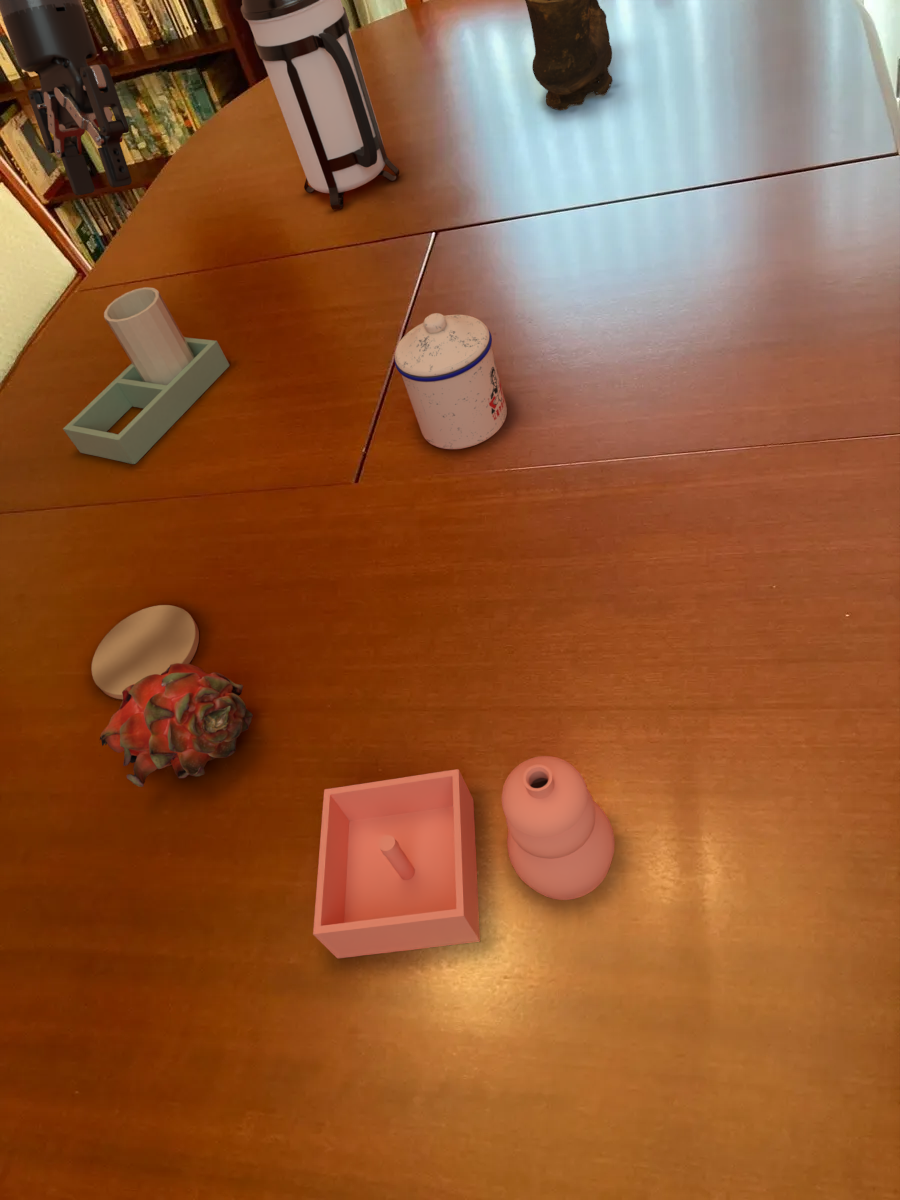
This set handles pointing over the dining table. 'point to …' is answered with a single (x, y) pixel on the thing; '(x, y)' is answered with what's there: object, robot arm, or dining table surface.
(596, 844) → the pottery
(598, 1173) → the dining table surface
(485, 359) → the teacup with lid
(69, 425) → the divided rectangular holder
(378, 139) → the coffee press
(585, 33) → the pottery vessel
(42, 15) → the robot arm
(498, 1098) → the dining table surface
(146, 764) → the dragon fruit
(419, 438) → the dining table surface
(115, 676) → the coaster
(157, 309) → the cup
